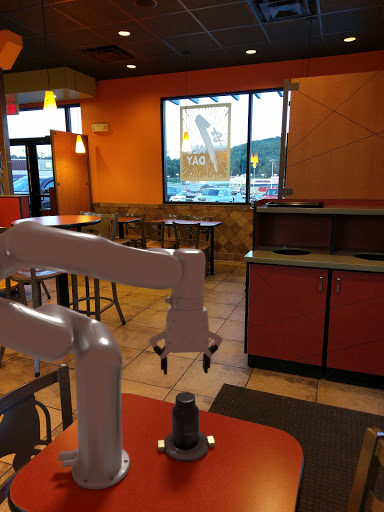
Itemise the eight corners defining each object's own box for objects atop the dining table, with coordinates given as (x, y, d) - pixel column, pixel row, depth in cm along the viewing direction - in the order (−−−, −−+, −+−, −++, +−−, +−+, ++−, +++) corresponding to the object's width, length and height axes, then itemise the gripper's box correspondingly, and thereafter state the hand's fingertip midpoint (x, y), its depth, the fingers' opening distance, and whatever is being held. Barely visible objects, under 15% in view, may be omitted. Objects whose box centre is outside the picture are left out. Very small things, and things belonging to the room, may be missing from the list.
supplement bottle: (201, 434, 92) (202, 391, 90) (196, 453, 85) (196, 406, 83) (175, 431, 93) (175, 387, 91) (168, 448, 86) (168, 402, 84)
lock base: (159, 464, 83) (159, 459, 83) (157, 433, 94) (157, 429, 93) (218, 459, 85) (218, 454, 85) (209, 429, 96) (209, 425, 95)
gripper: (150, 307, 78) (149, 380, 81) (227, 306, 81) (224, 377, 83) (149, 298, 86) (148, 365, 88) (220, 297, 88) (217, 363, 91)
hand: (185, 371), depth 86 cm, fingers open, 9 cm apart
